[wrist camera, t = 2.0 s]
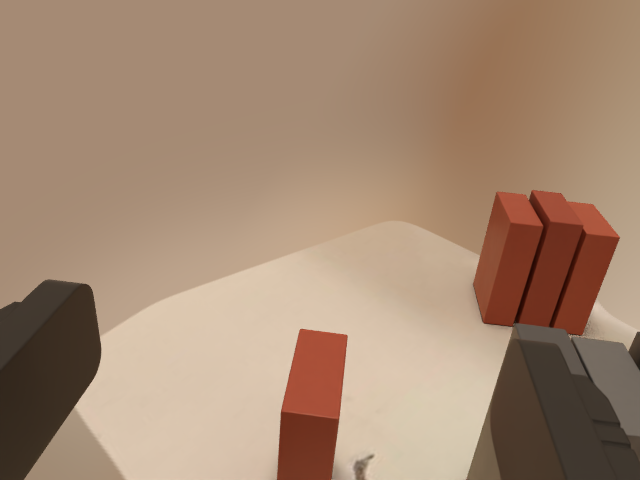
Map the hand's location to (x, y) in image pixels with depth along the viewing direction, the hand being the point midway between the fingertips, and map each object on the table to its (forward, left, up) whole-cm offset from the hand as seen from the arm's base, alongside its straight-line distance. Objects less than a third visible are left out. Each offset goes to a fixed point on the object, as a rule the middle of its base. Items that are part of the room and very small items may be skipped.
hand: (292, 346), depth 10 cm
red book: (-4, +12, -21) cm, 25 cm away
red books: (+6, +39, -21) cm, 45 cm away
